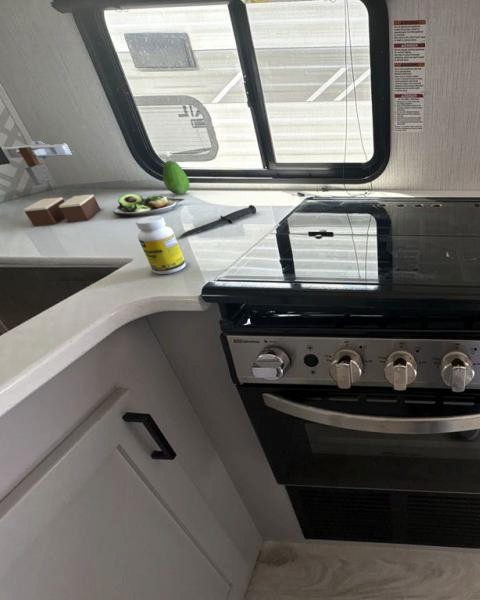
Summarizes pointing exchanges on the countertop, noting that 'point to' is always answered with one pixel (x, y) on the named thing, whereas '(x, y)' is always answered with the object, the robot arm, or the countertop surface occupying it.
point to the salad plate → (144, 205)
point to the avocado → (175, 178)
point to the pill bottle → (160, 245)
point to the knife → (223, 220)
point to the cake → (62, 210)
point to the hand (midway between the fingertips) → (26, 153)
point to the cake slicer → (35, 167)
